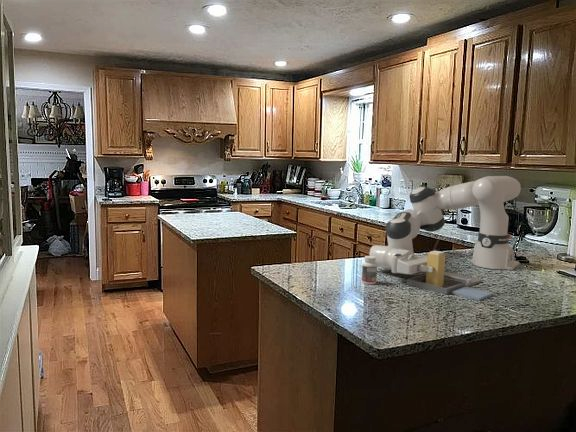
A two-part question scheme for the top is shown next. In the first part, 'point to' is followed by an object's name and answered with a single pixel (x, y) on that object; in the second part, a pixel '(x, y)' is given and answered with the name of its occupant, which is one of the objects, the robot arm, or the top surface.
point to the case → (449, 278)
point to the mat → (472, 293)
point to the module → (436, 268)
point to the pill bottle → (369, 270)
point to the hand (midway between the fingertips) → (437, 268)
